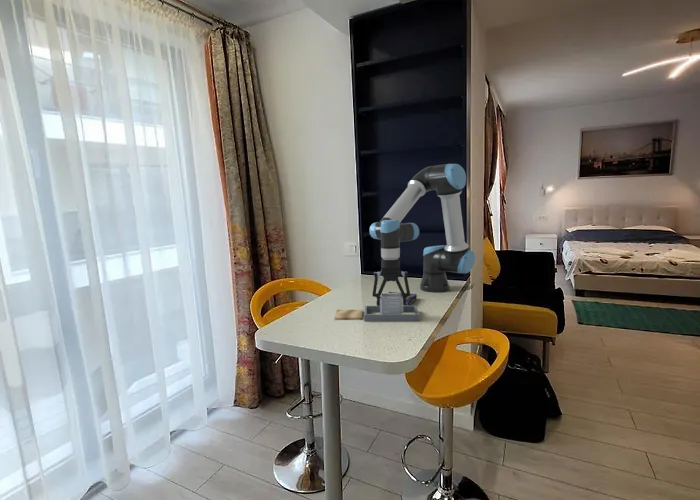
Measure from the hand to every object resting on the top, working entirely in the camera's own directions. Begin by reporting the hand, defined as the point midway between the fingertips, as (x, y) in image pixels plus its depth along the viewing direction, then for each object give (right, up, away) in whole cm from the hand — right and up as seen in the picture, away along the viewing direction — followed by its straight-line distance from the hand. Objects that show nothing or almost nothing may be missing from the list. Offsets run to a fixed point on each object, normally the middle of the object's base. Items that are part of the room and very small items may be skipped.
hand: (391, 312), depth 150 cm
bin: (0, -1, 0) cm, 1 cm away
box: (+5, +1, +20) cm, 20 cm away
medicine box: (0, -1, 0) cm, 1 cm away
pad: (-18, -1, +2) cm, 18 cm away
